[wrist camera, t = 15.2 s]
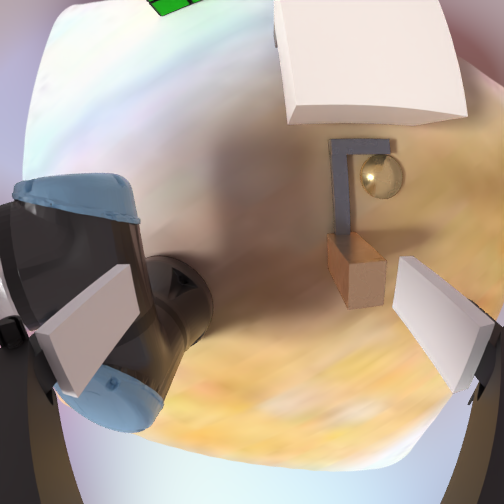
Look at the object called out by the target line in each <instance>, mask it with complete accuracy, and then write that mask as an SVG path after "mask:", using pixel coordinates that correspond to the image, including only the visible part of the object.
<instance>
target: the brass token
mask: <svg viewBox="0 0 504 504" xmlns="http://www.w3.org/2000/svg"><path fill="white" fill-rule="evenodd" d="M360 179H361V183H362V186H363V188H364V189H365V190H366V192H367V193H368V194H370V195H371V196H373V197H376V198H379V199H387V198H390V197H392V196H394V195H395V194H396V193H397V192H398V191H399V189H400V187H401V184H402V171H401V168H400V166H399V164H398V163H397V162H396V161H395V160H394V159H393V158H392V157H390V156H388V155H383V154H380V155H374V156H371V157H369V158H368V159H367V160H366V161H365V162H364V164H363V166H362V168H361V172H360Z"/></svg>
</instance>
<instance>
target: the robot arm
mask: <svg viewBox="0 0 504 504" xmlns="http://www.w3.org/2000/svg"><path fill="white" fill-rule="evenodd" d="M12 197H13V199H14V201H13V202H9V203H6V204H3V205H0V345H1V348H0V504H84V503H83V501H82V498H81V495H80V492H79V490H78V487H77V484H76V481H75V477H74V474H73V471H72V467H71V464H70V460H69V456H68V453H67V448H66V445H65V440H64V436H63V431H62V426H61V421H60V416H59V410H58V403H57V397H56V393H55V391H54V389H53V387H54V388H55V390H56V391H57V393H58V394H59V395H60V396H61V398H62V399H63V400H64V401H65V402H66V403H67V404H68V405H69V406H70V407H71V408H73V409H74V410H75V411H76V412H78V413H79V414H81V415H82V416H84V417H85V418H87V419H88V420H90V421H92V422H94V423H96V424H98V425H100V426H103V427H105V428H108V429H111V430H114V431H119V432H126V433H135V432H140V431H143V430H145V429H146V428H149V427H150V426H151V425H152V424H153V422H154V421H155V419H156V417H157V416H158V414H159V412H160V411H161V410H162V408H163V406H164V400H165V397H166V395H167V393H168V390H169V388H170V385H171V383H172V381H173V378H174V376H175V373H176V371H177V369H178V366H179V364H180V362H181V359H182V357H183V354H184V352H185V351H187V350H188V349H189V347H190V346H192V345H194V344H195V343H197V342H198V341H199V340H200V339H201V338H202V337H203V336H204V334H205V333H206V331H207V329H208V327H209V324H210V321H211V319H212V314H213V301H212V297H211V294H210V291H209V289H208V287H207V285H206V283H205V282H204V280H203V279H202V278H201V276H200V275H199V274H198V273H197V272H196V271H195V270H194V269H192V268H191V267H190V266H188V265H187V264H185V263H183V262H181V261H179V260H177V259H174V258H170V257H165V256H152V257H148V258H145V255H144V250H143V245H142V239H141V234H140V228H139V224H140V219H139V218H138V216H137V211H136V206H135V201H134V196H133V191H132V187H131V185H130V183H129V182H128V181H127V180H126V179H125V178H124V177H122V176H120V175H117V174H112V173H81V174H66V175H56V176H48V177H41V178H37V179H32V180H26V181H21V182H19V183H17V184H16V185H15V186H14V191H13V193H12ZM392 308H393V309H394V310H395V312H396V313H397V314H398V316H399V317H400V318H401V320H402V321H403V322H404V324H405V325H406V326H407V328H408V329H409V330H410V332H411V333H412V335H413V336H414V337H415V339H416V340H417V341H418V343H419V344H420V346H421V347H422V349H423V350H424V351H425V353H426V354H427V356H428V357H429V359H430V360H431V361H432V363H433V364H434V366H435V367H436V369H437V370H438V372H439V373H440V375H441V376H442V378H443V379H444V381H445V382H446V384H447V385H448V387H449V388H450V390H451V392H452V393H457V392H460V391H463V390H466V389H468V388H469V386H470V384H471V382H472V380H473V378H474V376H476V378H477V379H478V380H479V383H478V385H477V387H476V389H475V391H474V393H473V395H472V397H471V398H470V400H469V402H468V405H470V404H471V402H472V401H473V404H472V409H471V414H470V418H469V422H468V426H467V430H466V434H465V437H464V441H463V444H462V448H461V451H460V454H459V457H458V460H457V463H456V466H455V469H454V472H453V475H452V477H451V480H450V482H449V485H448V487H447V490H446V492H445V494H444V497H443V499H442V501H441V503H440V504H504V327H502V326H501V325H499V324H498V323H497V322H496V321H495V320H494V319H493V318H492V317H491V316H489V315H488V314H487V313H485V311H484V310H482V309H481V308H479V306H478V305H477V304H475V303H474V302H473V301H472V300H470V299H468V298H466V297H465V296H463V295H462V294H461V293H460V292H459V291H457V290H456V289H455V288H454V287H452V286H451V285H450V284H449V283H447V282H446V281H445V280H444V279H442V278H441V277H440V276H439V275H437V274H436V273H435V272H433V271H432V270H431V269H429V268H428V267H427V266H425V265H424V264H423V263H421V262H420V261H419V260H417V259H416V258H415V257H413V256H400V257H399V265H398V273H397V280H396V287H395V294H394V300H393V306H392ZM33 330H36V331H35V333H34V334H32V335H31V336H30V337H28V334H27V332H31V331H33ZM26 331H27V332H26Z"/></svg>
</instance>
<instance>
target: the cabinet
mask: <svg viewBox="0 0 504 504" xmlns="http://www.w3.org/2000/svg"><path fill="white" fill-rule="evenodd" d="M274 40H275V47H276V48H278V52H279V59H280V66H281V74H282V81H283V89H284V98H285V106H286V115H287V124H288V125H295V124H320V123H368V124H392V125H407V126H417V125H422V124H427V123H433V122H439V121H445V120H451V119H457V118H464V117H468V114H467V106H466V100H465V94H464V88H463V83H462V78H461V73H460V69H459V64H458V60H457V56H456V53H455V49H454V46H453V42H452V38H451V35H450V32H449V29H448V26H447V22H446V20H445V17H444V14H443V11H442V8H441V6H440V3H439V1H438V0H274Z"/></svg>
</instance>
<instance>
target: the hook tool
mask: <svg viewBox="0 0 504 504" xmlns="http://www.w3.org/2000/svg"><path fill="white" fill-rule="evenodd" d="M328 145H329V155H330V167H331V180H332V196H333V215H334V233H331V234H327V247H328V269H329V271H330V273H331V276H332V278H333V280H334V282H335V284H336V286H337V288H338V290H339V292H340V294H341V296H342V298H343V300H344V302H345V304H346V307H347V309H348V310H349V309H357V308H366V307H373V306H381V305H383V303H384V293H385V280H386V264H387V260H386V259H384V258H383V257H382V256H381V255H380V254H379V253H378V252H377V251H376V250H375V249H374V248H373V247H372V246H370V245H369V244H368V243H367V242H366V241H365V240H364V239H363V238H362V237H360V236H359V235H358V234H357V233H356V232H350V202H349V183H348V168H347V155H353V154H390V143H389V139H330V140H328Z"/></svg>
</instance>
